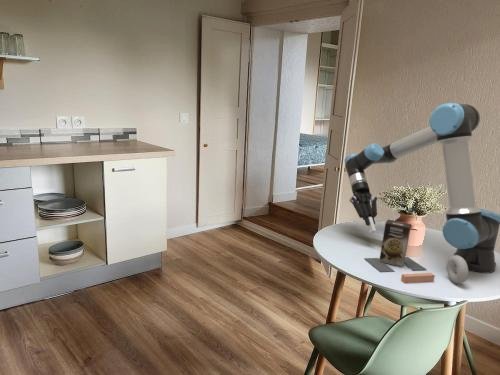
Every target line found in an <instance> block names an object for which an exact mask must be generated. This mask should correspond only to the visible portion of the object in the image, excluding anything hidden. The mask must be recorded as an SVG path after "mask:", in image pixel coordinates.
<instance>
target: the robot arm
mask: <svg viewBox="0 0 500 375" xmlns="http://www.w3.org/2000/svg"><path fill="white" fill-rule="evenodd" d="M429 117H430V118H429V126H427V127H425V128H423V129H421V130H419V131H417V132H415V133H411V134H409V135H407V136H405V137H403V138H400V139H399V140H397V141H394V142H392V143H389V144H388V145H385V146H381V145H380V144H378V143H376V142H374V143H371V144H369V145H367V146H365V148H364V149H363V150H362V151H360V152H359V153H350V155H346V157H345V158H344V168H345V170H346V172H347V176H348V181H349V184H350V186H351V192H352V194H353V196H351V198H349V202H350V203H351V204H352V206H353V208H354V209H355V211H356V213H357V215H358V217H359V218H360V219H362V220H363V221H364V223H365V225H366V226H367V228H368V231H369V234H374V233H375V232H376V226H375V225H376V220H375V218H376V217H377V215H378V209H377V208H378V206H377V205H378V204H377V201H378V197H377V196H373V195H372V194H371V192H370V187H369V183H368V179H367V176H366V174H365V170H367V169H368V168H369V167H371V166H372V165H376V164H390V163H394V162H396V161H397V160H398V159H400V158H402V157H405V156H407V155H409V154H412V153H414V152H418V151H419V150H422V149H424V148H427V147H429V146H432V145H434V144H435V145H436V144H437V143H438V144H439V145H441V147H442V155H443V161H444V162H443V163H444V164H443V165H444V173H445V178H446V179H445V180H446V187H447V189H446V190H447V196H448V204H449V208H448V209H447V211H446V212H445V216H446V222H445V223H444V224H443V226H442V236H443V239H444V240H445V241H446V242H447V243H448V244H449V245H450V246H451V247H453V248H456V250H455V252H454V254H453V256H454V255H458V256H461V257H462V258H463V259H464V260H465V261H466V263H467V266H468V269H469V270H468V271H472V270H473V271H472V272H476V271H479V272H478V273H483V272H490V273H492V272H491V271H494V270H495V271H496V266H497V262H496V259H495V258H496V257H495V248H496V244H497V243H496V242H497V238H498V233H499V229H500V214H499V213H498V212H494V211H491V210H487V209H483V208H478V207H477V205H476V199H475V198H476V197H475V189H474V182H473V175H472V167H471V166H472V165H471V157H470V156H471V155H470V149H469V148H470V147H469V141H470V140H471V139H472V137H473V136H472V135H473V134H472V132H473V131H475V130H476V129H477V128H478V126H479V124H480V121H481V117H480V113H479V110H478V109H477V108H476V107H475V106H473V105H471V104H466V103H456V102H447V103H442V104H441V105H439V106H437V107H436V108H435V109H434V110H433V111H432V112H431V115H430V116H429ZM495 271H494V272H495Z"/></svg>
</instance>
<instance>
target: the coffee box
mask: <svg viewBox="0 0 500 375" xmlns="http://www.w3.org/2000/svg"><path fill="white" fill-rule="evenodd" d="M411 228H412V223H407V222H402V221H398V220H393V219H387V220H386V222H385V226H384V229H383V230H384V231H383V236H382V242H381V247H380V253H379V254H380V255H379V258H378V259H379V261H381V262H384V263H385V264H388V265H393V266H396V267H402V268H403V267H404V262H405V257H407V256H406V255H407V250H408V244H409V239H410V234H411Z"/></svg>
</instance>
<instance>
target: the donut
mask: <svg viewBox="0 0 500 375" xmlns="http://www.w3.org/2000/svg"><path fill="white" fill-rule="evenodd" d="M445 267H446V273H447V276H448V278H449V279H450V281H451V282H453V283H454V284H463V283H464V282H465V281H466V280H467V279H468V276H469V270H468V266H467V263H466V261H465V260H464V259H463V258H462V257H461V256H458V255H454V254H453V255H452V256H450V257H449V259H447V262H446V266H445Z"/></svg>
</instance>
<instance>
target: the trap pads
mask: <svg viewBox="0 0 500 375" xmlns="http://www.w3.org/2000/svg"><path fill="white" fill-rule="evenodd" d="M379 259H380V258H378V257H367V258H366V257H365V258H364V260H365V261H366V262H367V263H368V264H369V265H370V266H372V267H373V268H374V269H375V270H376V271H378V272H379V273H392V272H393V273H394V272H396V271H395V270H394V269H393V268H391V267H390V266H389V264H387V263H385V262H381V261H379ZM404 265H405V266H406V267H407V268H408V269H410V270H411V271H413V272H415V271H417V272H418V271H419V272H420V271H427V270H428V269H427V268H426V267H424V266H422V265H421V264H419V262H416V261H415V260H413V259H412V258H410V257H409V256H405V262H404ZM404 265H403V266H404Z"/></svg>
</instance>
